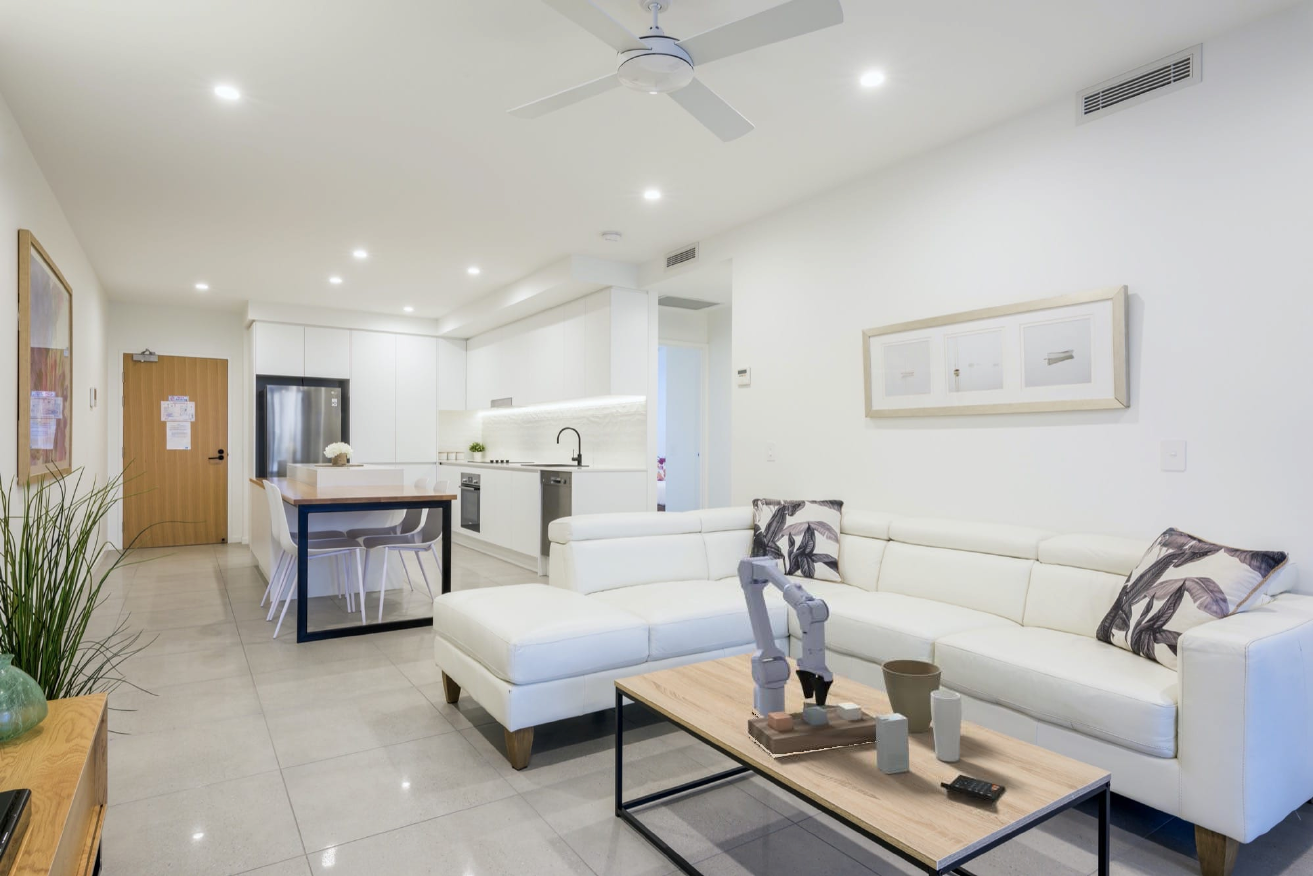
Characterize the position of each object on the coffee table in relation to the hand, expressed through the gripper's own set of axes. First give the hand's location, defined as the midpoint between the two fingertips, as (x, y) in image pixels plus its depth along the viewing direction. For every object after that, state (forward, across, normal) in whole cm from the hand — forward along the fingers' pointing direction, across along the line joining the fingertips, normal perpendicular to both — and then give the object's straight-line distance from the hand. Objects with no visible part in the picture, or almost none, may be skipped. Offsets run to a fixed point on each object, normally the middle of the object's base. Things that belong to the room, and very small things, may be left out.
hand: (814, 701), depth 181 cm
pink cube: (+6, 0, -10) cm, 11 cm away
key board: (+9, 0, 0) cm, 9 cm away
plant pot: (+10, +2, +28) cm, 30 cm away
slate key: (+6, 0, 0) cm, 6 cm away
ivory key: (+6, 0, +10) cm, 11 cm away
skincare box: (+10, +22, +7) cm, 25 cm away
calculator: (+10, +37, +16) cm, 42 cm away
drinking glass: (+10, +21, +23) cm, 33 cm away
